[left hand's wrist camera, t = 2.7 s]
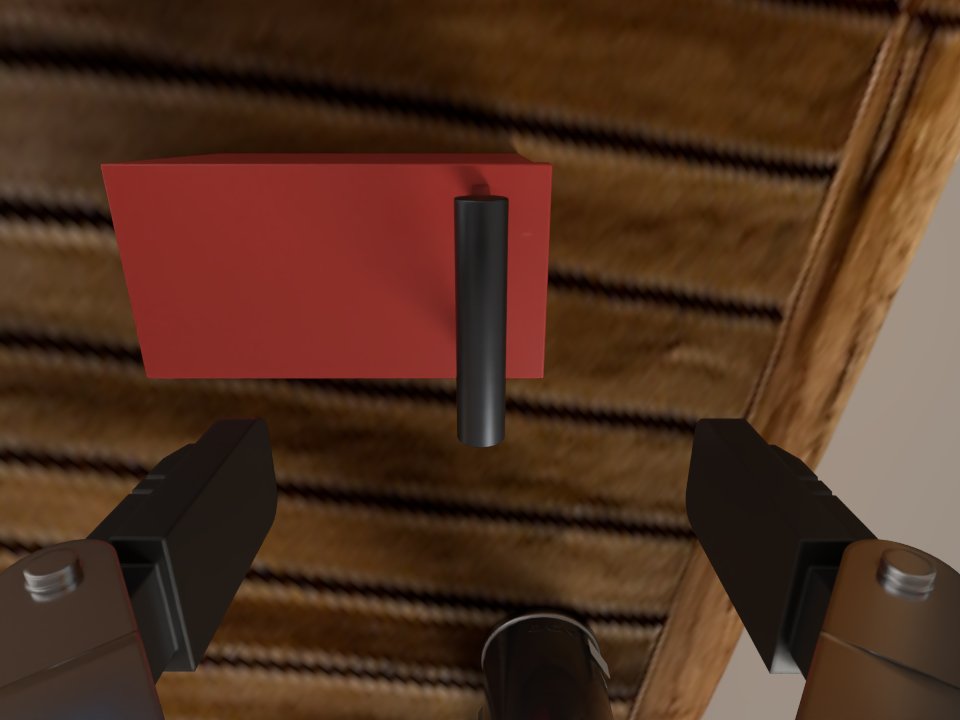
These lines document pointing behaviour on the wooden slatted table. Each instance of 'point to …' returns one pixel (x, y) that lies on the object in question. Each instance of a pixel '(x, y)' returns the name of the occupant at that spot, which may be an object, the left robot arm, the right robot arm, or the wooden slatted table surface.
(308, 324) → the lid
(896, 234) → the wooden slatted table surface
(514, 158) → the chest
